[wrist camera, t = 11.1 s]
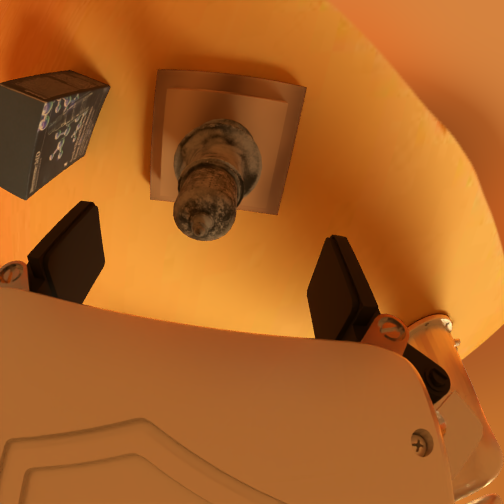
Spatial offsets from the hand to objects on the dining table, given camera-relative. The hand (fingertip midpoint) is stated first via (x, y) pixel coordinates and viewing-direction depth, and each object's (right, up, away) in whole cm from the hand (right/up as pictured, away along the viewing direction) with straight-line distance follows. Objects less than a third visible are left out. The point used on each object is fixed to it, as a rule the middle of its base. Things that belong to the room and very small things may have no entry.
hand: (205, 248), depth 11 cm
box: (-15, +14, +10) cm, 23 cm away
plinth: (-1, +10, +13) cm, 16 cm away
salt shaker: (-1, +8, +10) cm, 13 cm away
